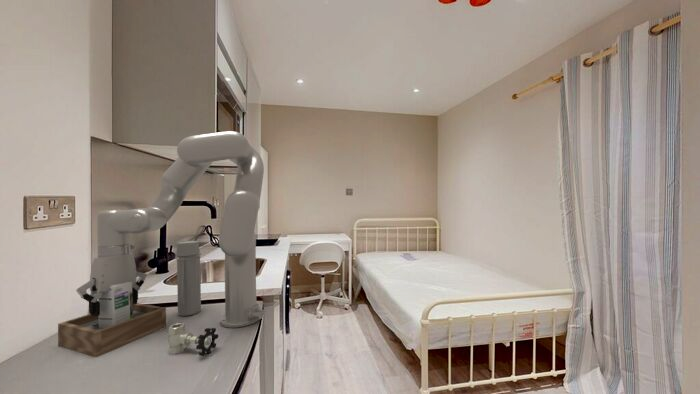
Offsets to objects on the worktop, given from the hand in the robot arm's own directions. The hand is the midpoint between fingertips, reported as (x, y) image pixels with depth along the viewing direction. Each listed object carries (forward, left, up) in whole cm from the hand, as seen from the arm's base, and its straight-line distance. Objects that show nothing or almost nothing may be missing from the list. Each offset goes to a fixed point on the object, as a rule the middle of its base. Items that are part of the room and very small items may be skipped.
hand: (115, 309), depth 83 cm
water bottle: (-6, -19, -8) cm, 21 cm away
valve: (-30, -1, -8) cm, 31 cm away
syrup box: (0, 0, -7) cm, 7 cm away
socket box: (0, 0, -8) cm, 8 cm away
